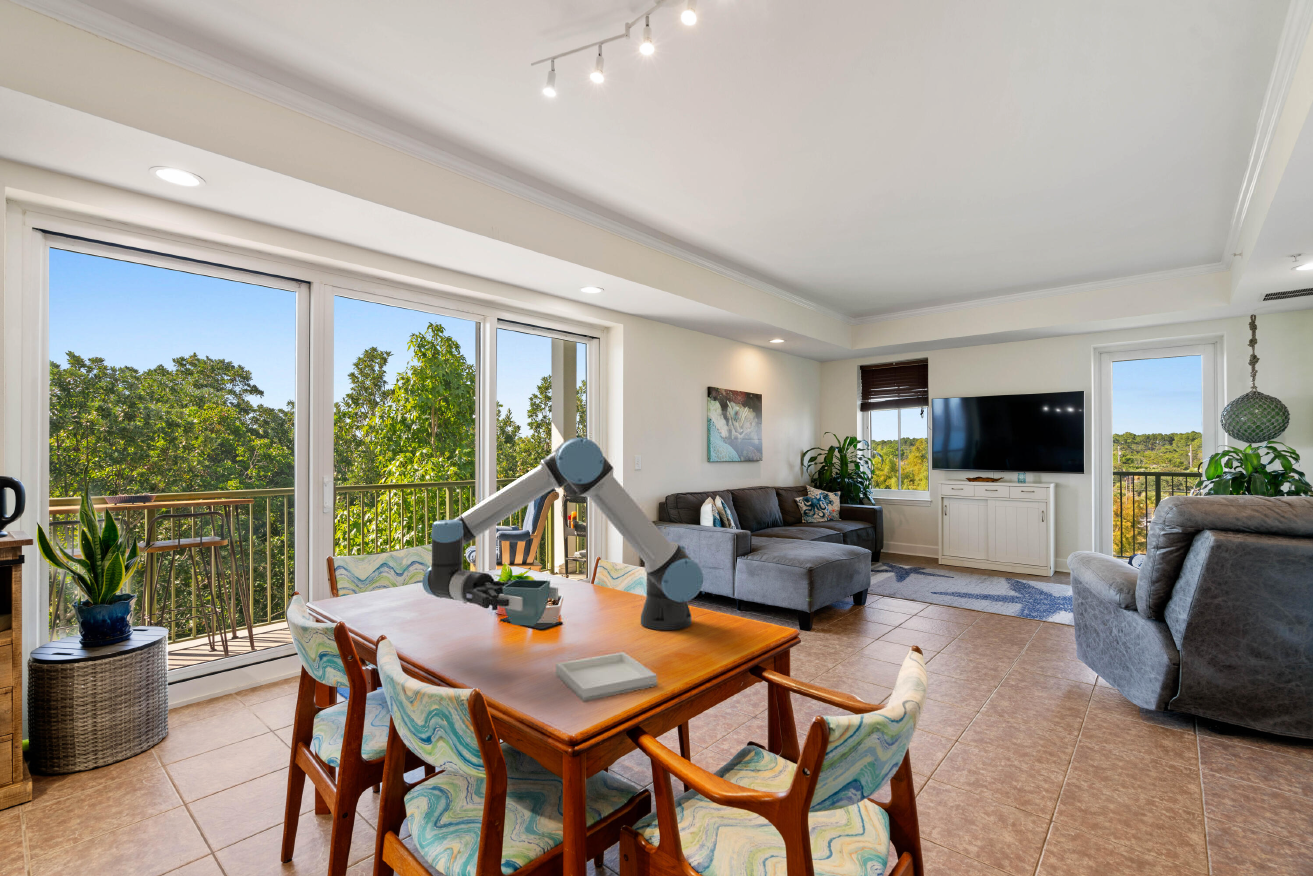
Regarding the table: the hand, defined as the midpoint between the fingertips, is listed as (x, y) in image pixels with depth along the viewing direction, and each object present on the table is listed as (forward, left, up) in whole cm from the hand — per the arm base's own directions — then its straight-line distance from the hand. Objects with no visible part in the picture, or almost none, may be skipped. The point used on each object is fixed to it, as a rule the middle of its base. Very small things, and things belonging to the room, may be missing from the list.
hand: (539, 598), depth 138 cm
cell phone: (-11, -45, -18) cm, 50 cm away
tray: (-12, +8, -18) cm, 23 cm away
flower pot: (+2, -3, -6) cm, 7 cm away
